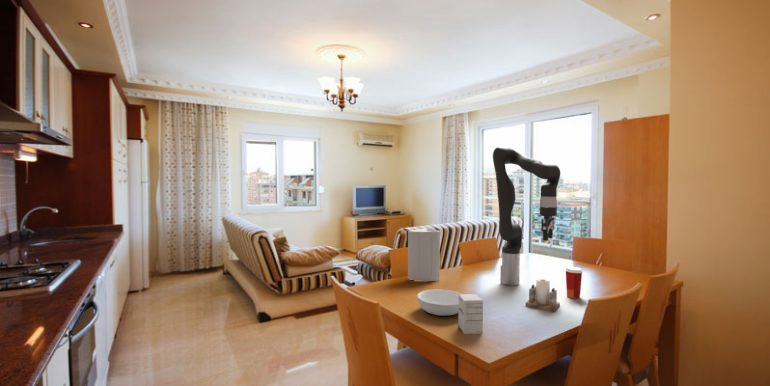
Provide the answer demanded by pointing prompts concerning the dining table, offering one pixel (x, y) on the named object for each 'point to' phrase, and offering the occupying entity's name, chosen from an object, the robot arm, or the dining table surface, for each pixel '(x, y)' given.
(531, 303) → the holder
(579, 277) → the paper cup
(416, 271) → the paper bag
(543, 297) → the roll
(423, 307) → the serving bowl
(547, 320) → the dining table surface
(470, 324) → the supplement box
